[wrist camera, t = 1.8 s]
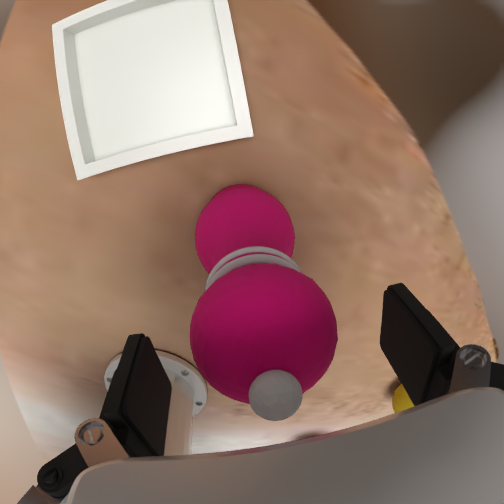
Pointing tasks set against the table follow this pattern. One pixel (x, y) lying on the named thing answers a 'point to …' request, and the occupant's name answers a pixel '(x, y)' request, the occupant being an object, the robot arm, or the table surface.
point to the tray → (148, 80)
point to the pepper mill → (258, 306)
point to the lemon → (401, 400)
